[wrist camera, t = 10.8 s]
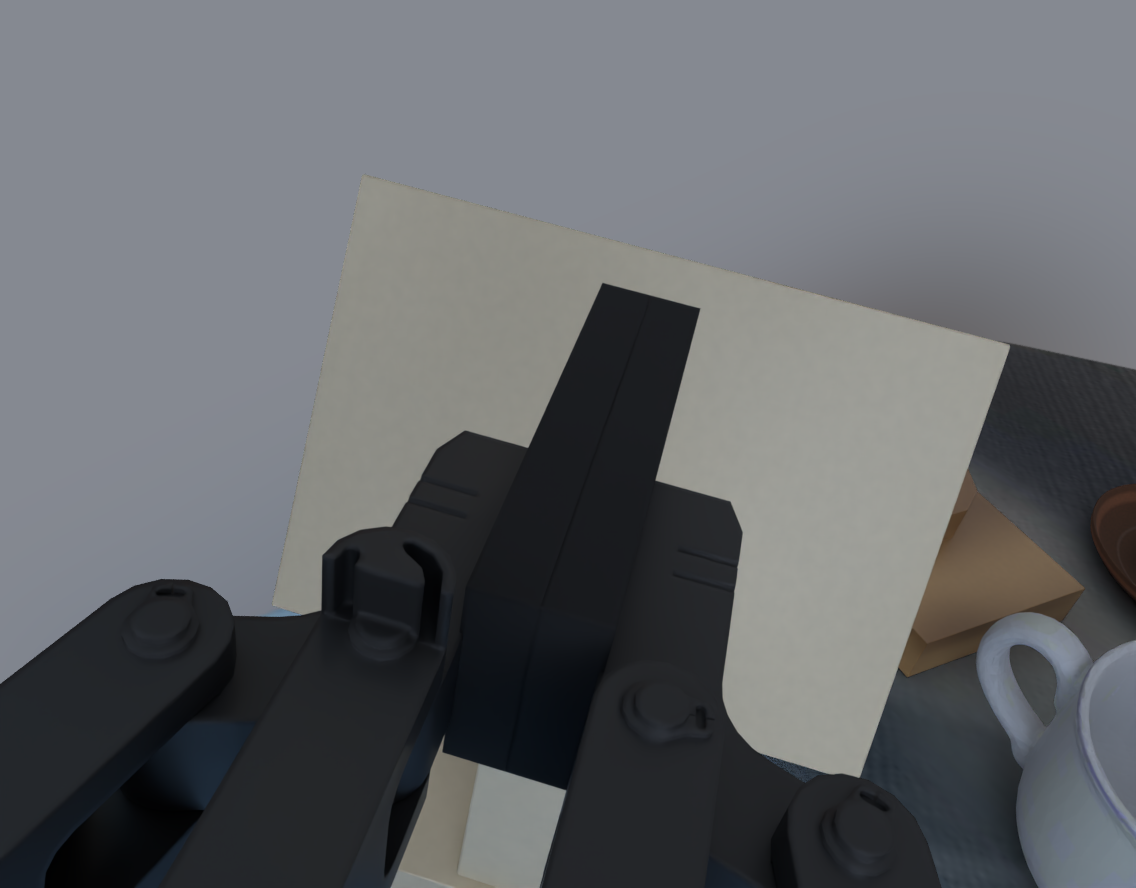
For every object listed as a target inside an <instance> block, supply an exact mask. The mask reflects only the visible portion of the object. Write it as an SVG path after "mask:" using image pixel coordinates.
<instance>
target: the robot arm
mask: <svg viewBox="0 0 1136 888" xmlns="http://www.w3.org/2000/svg"><path fill="white" fill-rule="evenodd" d="M700 309H701V308H697V307H693V306H689V305H685V304H682V303H678V302H674V301H670V300H666V299H663V298H659V297H655V296H651V295H647V294H643V293H640V292H636V291H632V290H628V289H624V288H621V287H617V286H613V285H609V284H605V283H602V285H601V287H600V289H599V292H598V294H597V296H596V298H595V301H594V303H593V305H592V307H591V309H590V312H589V314H588V316H587V318H586V321H585V323H584V325H583V327H582V329H581V332H580V334H579V336H578V338H577V341H576V343H575V345H574V347H573V349H572V352H571V354H570V356H569V358H568V361H567V363H566V365H565V367H564V369H563V372H562V374H561V376H560V378H559V381H558V383H557V385H556V387H555V389H554V392H553V394H552V396H551V398H550V401H549V403H548V405H547V407H546V409H545V412H544V414H543V416H542V418H541V421H540V423H539V425H538V427H537V429H536V432H535V434H534V436H533V438H532V441H531V443H530V445H529V447H528V448H527V447H523V446H520V445H516V444H513V443H509V442H505V441H502V440H498V439H495V438H491V437H488V436H484V435H480V434H477V433H473V432H470V431H466V430H465V431H463V432H462V433H460V434H459V435H457V436H456V437H454V438H452V439H451V440H449V441H448V442H446V443H445V444H443V445H442V446H440V447H439V448H437V449H436V451H435V453H434V454H433V456H432V458H431V459H430V461H429V463H428V465H427V466H426V468H425V470H424V472H423V473H422V475H421V479H420V481H419V480H418V482H417V484H416V486H415V487H414V489H413V491H412V492H411V494H410V496H409V499H408V502H406V503H405V505H404V506H403V508H402V510H401V512H400V513H399V515H398V517H397V518H396V520H395V522H394V524H393V525H392V527H387V526H385V527H377V528H369V529H362V530H358V531H356V532H354V533H352V534H350V535H347V536H345V537H343V538H341V539H339V540H337V541H336V542H335V543H334V544H333V545H332V546H331V547H330V548H329V549H328V550H327V551H326V552H325V553H324V554H323V555H322V602H321V610H320V611H317V612H313V613H309V614H305V615H301V616H286V617H258V616H233V615H232V613H231V610H230V607H229V605H228V602H227V601H226V600H225V599H224V598H223V597H222V596H220V595H219V594H218V593H217V592H216V591H215V590H213V589H212V588H211V587H208V586H205V585H202V584H199V583H196V582H193V581H190V580H174V579H173V580H172V579H160V580H156V581H152V582H148V583H144V584H140V585H136V586H133V587H131V588H130V589H128V590H126V591H124V592H122V593H120V594H119V595H117V596H115V597H113V598H111V599H110V600H109V601H107V602H106V603H105V604H103V605H102V606H101V607H100V608H98V609H97V610H96V611H94V612H93V613H92V614H91V615H89V616H88V617H87V618H85V619H84V620H83V621H81V622H80V623H79V624H77V625H76V626H75V627H74V628H72V629H71V630H70V631H68V632H67V633H66V634H64V635H63V636H62V637H61V638H59V639H58V640H57V641H55V642H54V643H53V644H52V645H50V646H49V647H48V648H46V649H45V650H44V651H42V652H41V653H40V654H39V655H37V656H36V657H35V658H33V659H32V660H31V661H29V662H28V663H27V664H26V665H24V666H23V667H22V668H20V669H19V670H18V671H17V672H15V673H14V674H13V675H12V676H10V677H9V678H7V679H6V680H5V681H4V682H2V683H1V684H0V888H391V886H392V883H393V881H394V878H395V876H396V873H397V871H398V868H399V865H400V863H401V860H402V858H403V855H404V853H405V850H406V848H407V845H408V843H409V840H410V838H411V835H412V833H413V830H414V827H415V825H416V822H417V820H418V817H419V815H420V812H421V810H422V807H423V805H424V802H425V800H426V796H427V790H428V784H429V778H430V770H431V767H432V765H433V762H434V760H435V757H436V755H437V752H438V750H439V747H440V745H441V742H442V740H443V737H444V743H443V750H442V752H443V753H446V754H449V755H452V756H456V757H459V758H462V759H465V760H469V761H472V762H475V763H478V764H482V765H485V766H488V767H491V768H495V769H498V770H501V771H504V772H508V773H511V774H514V775H517V776H521V777H524V778H527V779H530V780H534V781H537V782H540V783H543V784H547V785H550V786H553V787H556V788H560V789H563V790H566V793H565V797H564V801H563V805H562V808H561V812H560V815H559V819H558V822H557V826H556V829H555V833H554V836H553V840H552V843H551V847H550V850H549V854H548V857H547V861H546V864H545V868H544V871H543V877H542V880H541V884H540V888H941V884H940V881H939V878H938V875H937V872H936V868H935V865H934V862H933V859H932V855H931V852H930V849H929V846H928V843H927V841H926V839H925V837H924V835H923V833H922V831H921V829H920V827H919V825H918V823H917V821H916V819H915V817H914V816H913V815H912V814H911V813H910V812H909V811H908V810H907V809H906V808H905V807H904V806H903V805H902V804H901V803H900V801H899V800H898V799H897V798H896V797H895V796H894V795H892V794H890V793H889V792H887V791H886V790H884V789H882V788H881V787H879V786H877V785H876V784H874V783H872V782H871V781H869V780H866V779H862V778H858V777H855V776H851V775H847V774H843V773H839V774H829V775H818V776H816V777H815V778H813V779H811V780H810V781H808V782H806V783H804V782H802V781H801V780H799V779H798V778H796V777H794V776H793V775H791V774H790V773H788V772H786V771H785V770H783V769H782V768H780V767H778V766H777V765H775V764H774V763H772V762H770V761H769V760H768V759H766V758H765V757H764V756H762V755H761V754H760V753H758V752H757V751H756V750H754V749H753V748H752V747H751V746H750V745H749V744H748V743H747V742H746V741H745V740H744V739H743V737H742V736H741V735H740V734H739V733H738V732H737V730H736V728H735V727H734V725H733V723H732V722H731V720H730V718H729V716H728V714H727V711H726V708H725V704H724V701H723V688H722V682H723V675H724V667H725V660H726V653H727V645H728V638H729V631H730V624H731V616H732V609H733V602H734V594H735V593H734V590H735V587H736V580H737V572H738V568H737V567H738V564H739V558H740V550H741V543H742V536H743V531H742V529H741V526H740V524H739V521H738V519H737V516H736V514H735V511H734V509H733V506H732V504H731V501H727V500H723V499H720V498H716V497H713V496H709V495H705V494H702V493H698V492H695V491H691V490H688V489H684V488H680V487H677V486H673V485H670V484H666V483H662V482H659V481H655V480H656V477H657V473H658V469H659V465H660V461H661V457H662V454H663V450H664V446H665V442H666V438H667V435H668V431H669V427H670V423H671V419H672V415H673V412H674V408H675V404H676V400H677V396H678V393H679V389H680V385H681V381H682V377H683V373H684V370H685V366H686V362H687V358H688V354H689V351H690V347H691V343H692V339H693V335H694V332H695V328H696V324H697V320H698V316H699V312H700ZM444 735H445V736H444Z"/></svg>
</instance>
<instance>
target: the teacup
mask: <svg viewBox="0 0 1136 888" xmlns="http://www.w3.org/2000/svg"><path fill="white" fill-rule="evenodd" d="M1021 644H1022V645H1027V646H1029V647H1032V648H1034V649H1035V650H1037V651H1038V652H1040V653H1041V654H1042V655H1043V656H1044V657H1045V658H1046V659H1047V660H1048V661H1049V662H1050V664H1051V665H1052V666H1053V669H1054V671H1055V674H1056V678H1057V690H1056V694H1055V698H1054V705H1055V708H1056V716H1055V717H1054V719H1053V720H1052V722H1051V723H1050V724H1049V726H1048V727H1047V726H1045V725H1044V724H1043V723H1042V721H1041V720H1040V719H1039V717H1038V716H1037V715H1036V713H1035V712H1034V711H1033V709H1032V708H1031V706H1030V705H1029V703H1028V702H1027V700H1026V698H1025V697H1024V695H1023V693H1022V691H1021V690H1020V688H1019V686H1018V684H1017V681H1016V679H1015V677H1014V674H1013V671H1012V668H1011V665H1010V658H1009V654H1010V647H1012V646H1013V645H1021ZM976 667H977V674H978V679H979V681H980V684H981V687H982V689H983V692H984V695H985V697H986V699H987V700H988V702H989V704H990V706H991V708H992V710H993V712H994V714H995V715H996V717H997V719H998V720H999V722H1000V723H1001V725H1002V726H1003V728H1004V730H1005V731H1006V733H1007V734H1008V736H1009V738H1010V739H1011V747H1012V753H1013V755H1014V758H1015V760H1016V762H1017V763H1018V764H1019V765H1020V766H1021V767H1022V768H1023V772H1022V776H1021V779H1020V783H1019V786H1018V793H1017V802H1016V821H1017V829H1018V835H1019V839H1020V843H1021V847H1022V851H1023V854H1024V857H1025V860H1026V862H1027V865H1028V868H1029V870H1030V872H1031V874H1032V876H1033V878H1034V880H1035V882H1036V884H1037V886H1038V888H1136V640H1134V641H1130V642H1127V643H1124V644H1122V645H1120V646H1118V647H1116V648H1114V649H1112V650H1109V651H1107V652H1106V653H1105V654H1104V655H1102V656H1101V657H1100V658H1099V659H1098V660H1096V661H1095V662H1094V663H1093V661H1092V659H1091V657H1090V655H1089V653H1088V651H1087V650H1086V648H1085V647H1084V646H1083V644H1082V643H1081V642H1080V640H1079V639H1078V637H1077V636H1076V635H1075V634H1074V633H1073V632H1071V631H1070V630H1069V629H1068V628H1067V627H1066V626H1065V625H1063V624H1062V623H1060V622H1058V621H1057V620H1055V619H1054V618H1051V617H1048V616H1045V615H1042V614H1039V613H1033V612H1024V613H1016V614H1012V615H1009V616H1006V617H1004V618H1002V619H1000V620H999V621H997V622H996V623H995V624H993V625H992V626H991V627H990V628H989V630H988V631H987V632H986V633H985V634H984V636H983V637H982V639H981V642H980V644H979V647H978V650H977V656H976Z"/></svg>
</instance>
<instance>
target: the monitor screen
mask: <svg viewBox="0 0 1136 888" xmlns="http://www.w3.org/2000/svg"><path fill="white" fill-rule="evenodd" d="M602 283H605V284H609V285H613V286H617V287H621V288H624V289H628V290H632V291H636V292H640V293H643V294H647V295H651V296H655V297H659V298H663V299H666V300H670V301H674V302H678V303H682V304H685V305H689V306H693V307H697V308H701V309H700V312H699V316H698V320H697V324H696V328H695V332H694V335H693V339H692V343H691V347H690V351H689V354H688V358H687V362H686V366H685V370H684V373H683V377H682V381H681V385H680V389H679V393H678V396H677V400H676V404H675V408H674V412H673V415H672V419H671V423H670V427H669V431H668V435H667V438H666V442H665V446H664V450H663V454H662V457H661V461H660V465H659V469H658V473H657V477H656V480H655V481H659V482H662V483H666V484H670V485H673V486H677V487H680V488H684V489H688V490H691V491H695V492H698V493H702V494H705V495H709V496H713V497H716V498H720V499H723V500H727V501H731V504H732V506H733V509H734V511H735V514H736V516H737V519H738V521H739V524H740V526H741V529H742V531H743V536H742V543H741V550H740V558H739V564H738V567H737V568H738V572H737V580H736V587H735V590H734V593H735V594H734V602H733V609H732V616H731V624H730V631H729V638H728V645H727V653H726V660H725V667H724V675H723V682H722V688H723V701H724V704H725V708H726V711H727V714H728V716H729V718H730V720H731V722H732V723H733V725H734V727H735V728H736V730H737V732H738V733H739V734H740V735H741V736H742V737H743V739H744V740H745V741H746V742H747V743H748V744H749V745H750V746H751V747H752V748H753V749H754V750H756V751H757V752H758V753H761V754H764V755H768V756H771V757H774V758H777V759H781V760H784V761H787V762H791V763H794V764H797V765H801V766H804V767H807V768H811V769H814V770H817V771H820V772H824V773H827V774H839V773H843V774H847V775H851V776H855V777H858V778H860V775H861V772H862V770H863V767H864V764H865V761H866V758H867V755H868V752H869V750H870V747H871V744H872V741H873V738H874V735H875V732H876V730H877V727H878V724H879V721H880V718H881V715H882V712H883V709H884V707H885V704H886V701H887V698H888V695H889V692H890V689H891V687H892V684H893V681H894V678H895V675H896V672H897V669H898V667H899V664H900V661H901V658H902V655H903V652H904V649H905V647H906V644H907V641H908V638H909V635H910V632H911V629H912V627H913V624H914V621H915V618H916V615H917V612H918V609H919V606H920V604H921V601H922V598H923V595H924V592H925V589H926V586H927V584H928V581H929V578H930V575H931V572H932V569H933V566H934V564H935V561H936V558H937V555H938V552H939V549H940V546H941V544H942V541H943V538H944V535H945V532H946V529H947V526H948V523H949V521H950V518H951V515H952V512H953V509H954V506H955V503H956V501H957V498H958V495H959V492H960V489H961V486H962V483H963V481H964V478H965V475H966V472H967V469H968V466H969V463H970V461H971V458H972V455H973V452H974V449H975V446H976V443H977V441H978V438H979V435H980V432H981V429H982V426H983V423H984V420H985V418H986V415H987V412H988V409H989V406H990V403H991V400H992V398H993V395H994V392H995V389H996V386H997V383H998V380H999V378H1000V375H1001V372H1002V369H1003V366H1004V363H1005V360H1006V358H1007V355H1008V352H1009V349H1010V345H1009V344H1005V343H1001V342H998V341H994V340H990V339H986V338H982V337H979V336H975V335H971V334H967V333H963V332H960V331H955V330H952V329H948V328H944V327H940V326H937V325H933V324H929V323H925V322H922V321H918V320H914V319H910V318H906V317H903V316H899V315H895V314H891V313H887V312H884V311H880V310H876V309H873V308H868V307H865V306H861V305H857V304H854V303H850V302H846V301H842V300H838V299H834V298H831V297H826V296H823V295H819V294H815V293H812V292H808V291H804V290H801V289H797V288H793V287H789V286H785V285H781V284H777V283H774V282H770V281H766V280H763V279H759V278H755V277H751V276H747V275H744V274H740V273H736V272H732V271H729V270H725V269H721V268H717V267H713V266H709V265H705V264H702V263H698V262H694V261H691V260H687V259H683V258H679V257H675V256H672V255H667V254H664V253H660V252H657V251H652V250H649V249H645V248H641V247H637V246H633V245H630V244H626V243H622V242H619V241H615V240H611V239H607V238H603V237H600V236H596V235H592V234H588V233H584V232H581V231H577V230H573V229H569V228H566V227H562V226H558V225H554V224H550V223H546V222H543V221H539V220H535V219H531V218H527V217H524V216H520V215H516V214H512V213H509V212H505V211H501V210H497V209H493V208H490V207H486V206H482V205H478V204H474V203H470V202H467V201H463V200H459V199H456V198H452V197H448V196H444V195H440V194H437V193H433V192H429V191H425V190H422V189H417V188H414V187H410V186H406V185H402V184H399V183H395V182H391V181H387V180H384V179H380V178H376V177H372V176H369V175H362V178H361V183H360V188H359V193H358V197H357V202H356V207H355V212H354V216H353V221H352V226H351V231H350V236H349V240H348V245H347V250H346V254H345V259H344V264H343V269H342V274H341V278H340V283H339V288H338V292H337V297H336V302H335V307H334V311H333V316H332V321H331V326H330V331H329V335H328V340H327V345H326V350H325V354H324V359H323V364H322V368H321V373H320V378H319V382H318V387H317V393H316V397H315V401H314V406H313V411H312V416H311V420H310V425H309V430H308V435H307V440H306V444H305V449H304V454H303V459H302V463H301V468H300V473H299V477H298V482H297V487H296V492H295V496H294V501H293V506H292V511H291V515H290V520H289V525H288V530H287V534H286V539H285V544H284V549H283V553H282V558H281V563H280V568H279V572H278V577H277V582H276V587H275V591H274V596H273V601H272V606H275V607H278V608H281V609H284V610H288V611H291V612H294V613H298V614H301V615H305V614H309V613H313V612H317V611H320V610H321V602H322V555H323V554H324V553H325V552H326V551H327V550H328V549H329V548H330V547H331V546H332V545H333V544H334V543H335V542H336V541H337V540H339V539H341V538H343V537H345V536H347V535H350V534H352V533H354V532H356V531H358V530H362V529H369V528H377V527H385V526H387V527H392V525H393V524H394V522H395V520H396V518H397V517H398V515H399V513H400V512H401V510H402V508H403V506H404V505H405V503H406V502H408V499H409V496H410V494H411V492H412V491H413V489H414V487H415V486H416V484H417V482H418V480H419V481H420V479H421V475H422V473H423V472H424V470H425V468H426V466H427V465H428V463H429V461H430V459H431V458H432V456H433V454H434V453H435V451H436V449H437V448H439V447H440V446H442V445H443V444H445V443H446V442H448V441H449V440H451V439H452V438H454V437H456V436H457V435H459V434H460V433H462V432H463V431H465V430H466V431H470V432H473V433H477V434H480V435H484V436H488V437H491V438H495V439H498V440H502V441H505V442H509V443H513V444H516V445H520V446H523V447H527V448H528V447H529V445H530V443H531V441H532V438H533V436H534V434H535V432H536V429H537V427H538V425H539V423H540V421H541V418H542V416H543V414H544V412H545V409H546V407H547V405H548V403H549V401H550V398H551V396H552V394H553V392H554V389H555V387H556V385H557V383H558V381H559V378H560V376H561V374H562V372H563V369H564V367H565V365H566V363H567V361H568V358H569V356H570V354H571V352H572V349H573V347H574V345H575V343H576V341H577V338H578V336H579V334H580V332H581V329H582V327H583V325H584V323H585V321H586V318H587V316H588V314H589V312H590V309H591V307H592V305H593V303H594V301H595V298H596V296H597V294H598V292H599V289H600V287H601V285H602Z"/></svg>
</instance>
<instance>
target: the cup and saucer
mask: <svg viewBox="0 0 1136 888" xmlns="http://www.w3.org/2000/svg"><path fill="white" fill-rule="evenodd" d="M1091 534H1092V538H1093V541H1094V544H1095V546H1096V548H1097V550H1098V553H1099V555H1100V557H1101V559H1102V561H1103V563H1104V564H1105V566H1106V567H1107V569H1108V571H1109V572H1110V573H1111V575H1112V576H1113V577H1114V579H1115V580H1116V581H1117V582H1118V584H1119V585H1120V586H1121V587H1122V588H1123V589H1124V590H1125V591H1126V592H1127V593H1128V594H1129V595H1130V596H1131V597H1132V598H1133V599H1134V600H1135V601H1136V484H1129V485H1123V486H1119V487H1116V488H1113V489H1111V490H1109V491H1107V492H1106V493H1104V494H1103V495H1102V496H1101V497H1100V498H1099V499H1098V501H1097V503H1096V505H1095V507H1094V509H1093V513H1092V516H1091Z"/></svg>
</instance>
